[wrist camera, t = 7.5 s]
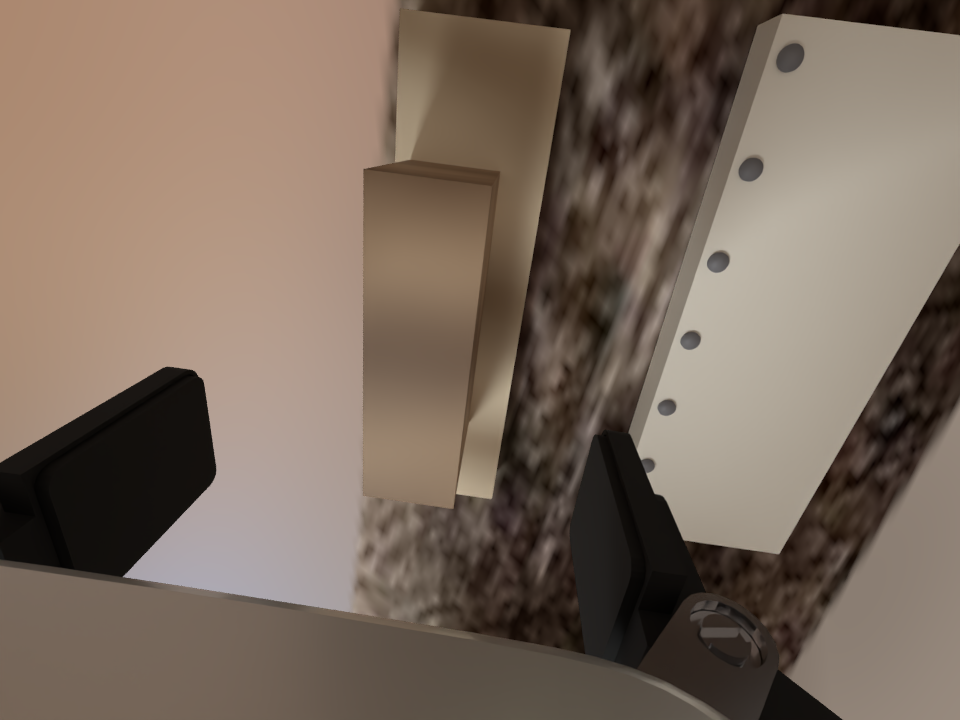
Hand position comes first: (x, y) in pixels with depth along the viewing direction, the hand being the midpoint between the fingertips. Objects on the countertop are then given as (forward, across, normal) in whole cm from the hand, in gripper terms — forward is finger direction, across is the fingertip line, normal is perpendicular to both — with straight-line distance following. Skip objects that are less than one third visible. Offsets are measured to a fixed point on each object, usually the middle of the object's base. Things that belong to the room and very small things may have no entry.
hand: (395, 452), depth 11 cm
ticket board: (+9, -13, -1) cm, 16 cm away
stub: (+9, 0, -1) cm, 9 cm away
